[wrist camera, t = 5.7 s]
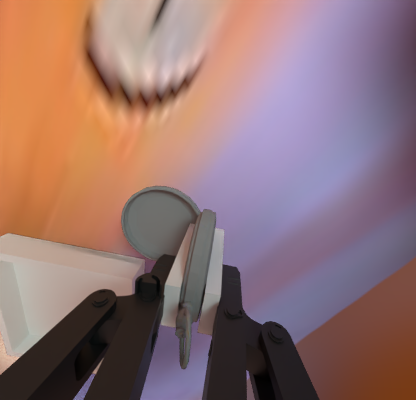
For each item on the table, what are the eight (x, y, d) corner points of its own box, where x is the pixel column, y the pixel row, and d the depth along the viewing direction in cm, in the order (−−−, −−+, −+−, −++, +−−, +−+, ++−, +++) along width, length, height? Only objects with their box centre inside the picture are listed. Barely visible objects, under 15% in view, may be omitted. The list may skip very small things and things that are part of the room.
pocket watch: (112, 202, 17) (-37, 297, 7) (203, 160, 15) (158, 218, 6) (159, 277, 19) (91, 424, 10) (244, 250, 17) (262, 399, 8)
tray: (145, 259, 25) (132, 279, 22) (140, 354, 31) (129, 381, 28) (8, 233, 26) (-25, 248, 23) (30, 331, 32) (7, 354, 29)
